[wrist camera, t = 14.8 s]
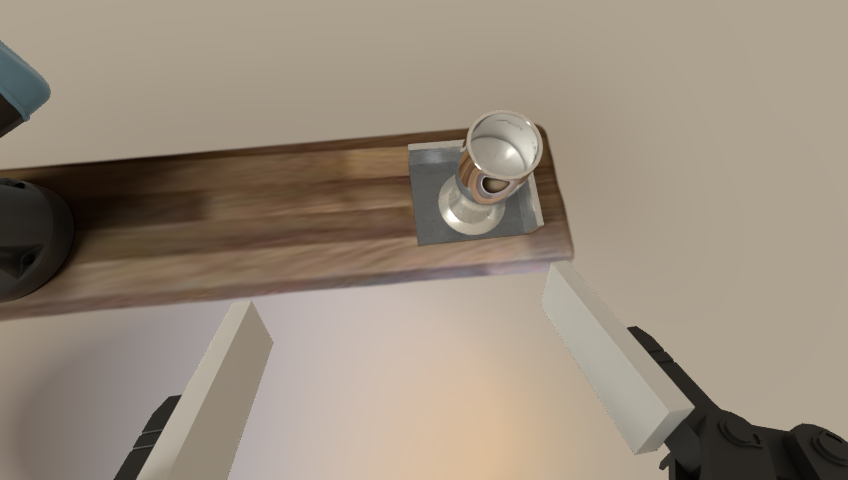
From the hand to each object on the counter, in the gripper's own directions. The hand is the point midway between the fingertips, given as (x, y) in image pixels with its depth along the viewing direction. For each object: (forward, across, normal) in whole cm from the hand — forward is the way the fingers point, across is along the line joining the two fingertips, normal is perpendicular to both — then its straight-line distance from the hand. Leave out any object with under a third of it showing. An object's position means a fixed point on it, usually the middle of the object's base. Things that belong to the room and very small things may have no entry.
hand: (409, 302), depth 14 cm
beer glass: (+25, +10, -9) cm, 29 cm away
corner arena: (+27, +10, -9) cm, 30 cm away
